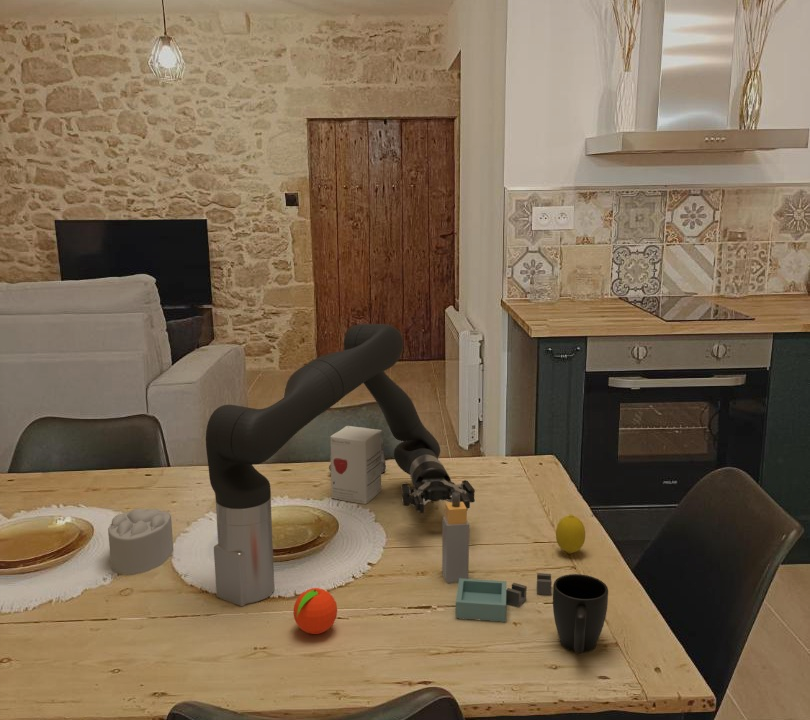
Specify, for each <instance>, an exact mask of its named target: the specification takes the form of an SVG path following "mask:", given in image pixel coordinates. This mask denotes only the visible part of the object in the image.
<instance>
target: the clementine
mask: <svg viewBox="0 0 810 720" xmlns="http://www.w3.org/2000/svg"><path fill="white" fill-rule="evenodd" d="M337 616H338V606H337V602H336V600H335V598H334V597H333V595H332V594H331V593H330V592H329V591H327V590H324V589H323V588H319V587H314V588H313V587H312V588H309V589H306V590H305V591H304V592H302V593H301V594H300V595H299V596H298V597H297V598H296V600H295V602H294V604H293V619H294V621H295V623H296V625H297V627H299V628H300V629H301V630H302V631H303V632H305V633H307V634H311V635H319V634H322V633H324V632H326V631H328V630H330V628H331V627H332V626H333V625H334V623H335V622H336V619H337Z"/></svg>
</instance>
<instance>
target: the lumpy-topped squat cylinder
mask: <svg viewBox="0 0 810 720" xmlns="http://www.w3.org/2000/svg"><path fill="white" fill-rule="evenodd" d="M172 523H173V522H172V514H171V513H170V512H169V511H166V510H160V509H158V508H133V509H132V510H130V511H127V512H124V513H122V514H121V513H119V514H117V515H115V516H114V517H113V518H112V519H111V523H110V524H109V526H108V528H107V529H108V530H107V531H108V533H107V534H108V543H109V544H108V545H109V554H110V555H109V558H110V565H111V568H112V569H111V570H113V571H114V572H115V573H117V574H119V575H122V576H132V575H133V576H134V575H139V574H143V573H147V572H150V571H152V570H154V569H157V568H159V567H160V566H162V565H164V564H165V562H167V561H168V560H169V558H170V557H171V556H172V554H173V552H174V537H173V536H174V535H173V524H172Z"/></svg>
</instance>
